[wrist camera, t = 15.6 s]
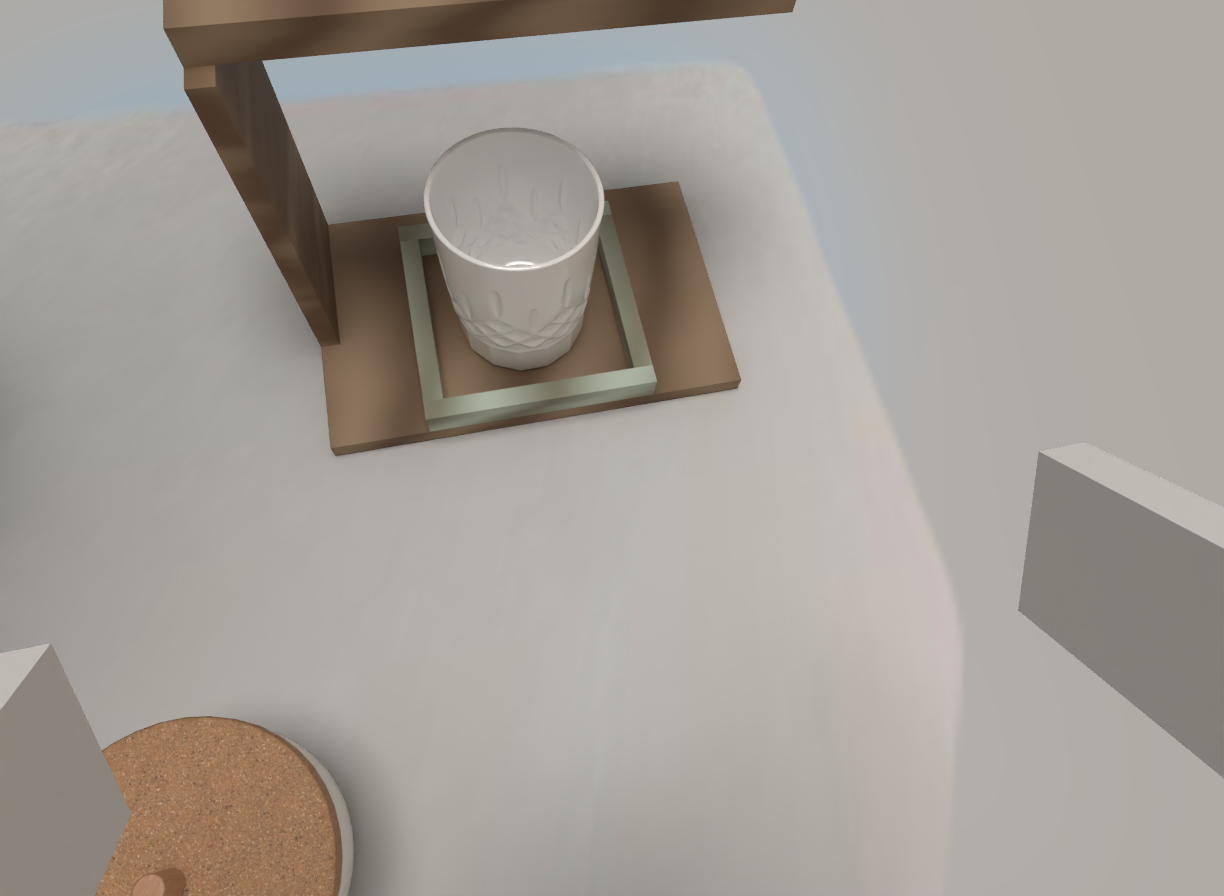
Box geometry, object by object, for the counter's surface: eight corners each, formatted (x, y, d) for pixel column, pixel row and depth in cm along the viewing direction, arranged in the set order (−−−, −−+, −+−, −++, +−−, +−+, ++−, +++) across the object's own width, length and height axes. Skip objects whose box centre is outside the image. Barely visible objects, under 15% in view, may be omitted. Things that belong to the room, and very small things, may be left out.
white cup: (432, 363, 42) (399, 247, 32) (471, 247, 45) (452, 111, 36) (575, 394, 42) (583, 287, 32) (605, 276, 45) (620, 147, 35)
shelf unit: (335, 455, 40) (164, 201, 22) (314, 238, 45) (162, -112, 27) (736, 388, 44) (868, 119, 26) (675, 192, 49) (749, -146, 31)
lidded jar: (63, 954, 31) (-122, 1023, 23) (204, 692, 35) (94, 667, 27) (307, 1054, 31) (212, 1166, 22) (422, 776, 35) (380, 778, 26)
